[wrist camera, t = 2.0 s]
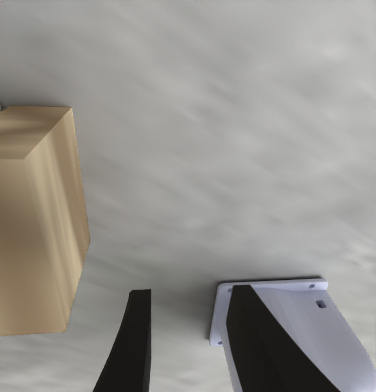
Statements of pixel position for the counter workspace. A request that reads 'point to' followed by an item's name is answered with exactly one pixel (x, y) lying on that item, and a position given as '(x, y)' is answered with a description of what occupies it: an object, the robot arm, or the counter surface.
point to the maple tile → (39, 219)
